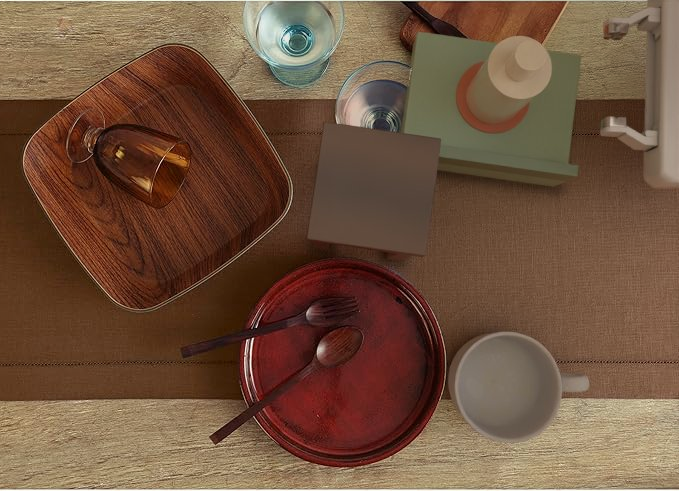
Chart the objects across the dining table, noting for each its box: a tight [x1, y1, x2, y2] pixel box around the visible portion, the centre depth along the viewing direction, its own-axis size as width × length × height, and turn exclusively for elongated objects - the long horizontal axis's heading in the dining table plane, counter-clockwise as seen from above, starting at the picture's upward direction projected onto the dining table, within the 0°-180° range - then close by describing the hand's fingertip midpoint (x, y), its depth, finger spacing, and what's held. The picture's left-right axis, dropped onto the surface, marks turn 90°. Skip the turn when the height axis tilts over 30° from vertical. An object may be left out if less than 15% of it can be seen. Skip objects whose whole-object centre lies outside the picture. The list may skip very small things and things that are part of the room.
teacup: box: [447, 331, 590, 445], centre depth 64 cm, size 14×11×8 cm
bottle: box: [466, 35, 552, 124], centre depth 59 cm, size 6×6×12 cm
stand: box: [306, 121, 441, 261], centre depth 60 cm, size 10×10×18 cm
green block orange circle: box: [400, 31, 582, 188], centre depth 66 cm, size 14×18×7 cm
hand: (604, 76), depth 57 cm, fingers open, 8 cm apart
